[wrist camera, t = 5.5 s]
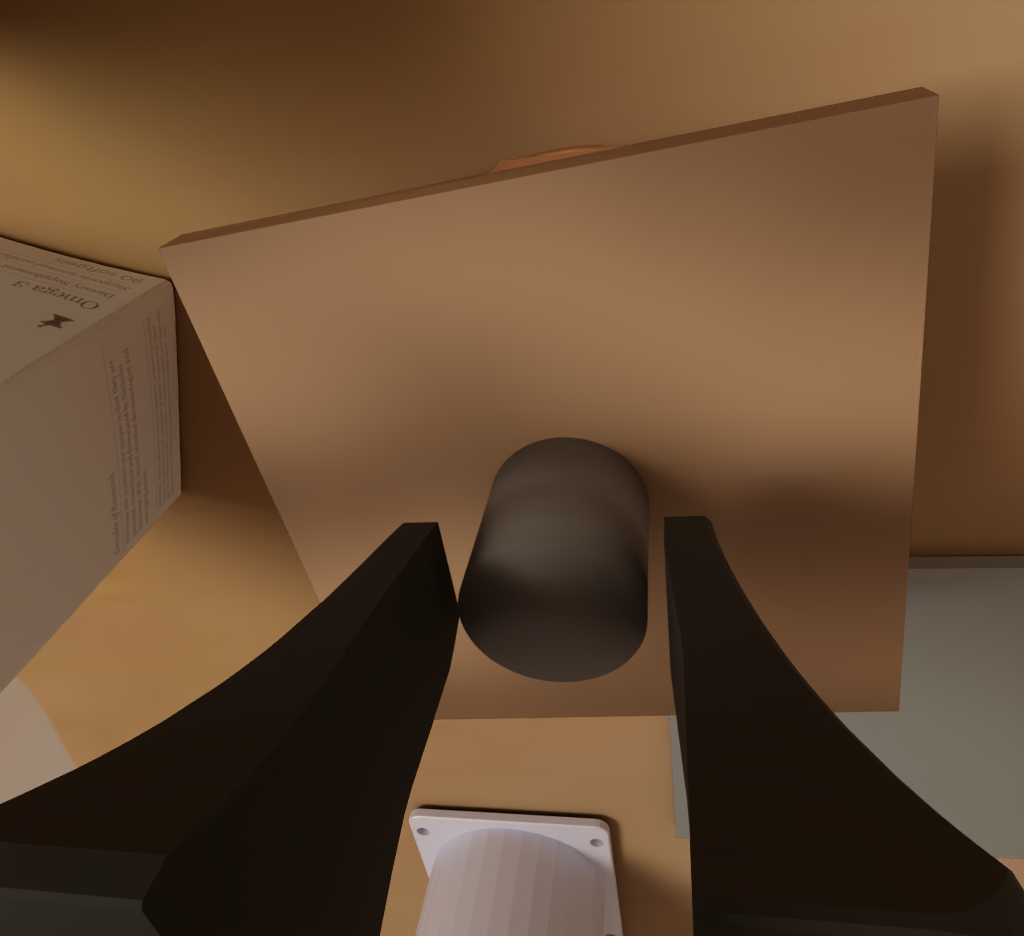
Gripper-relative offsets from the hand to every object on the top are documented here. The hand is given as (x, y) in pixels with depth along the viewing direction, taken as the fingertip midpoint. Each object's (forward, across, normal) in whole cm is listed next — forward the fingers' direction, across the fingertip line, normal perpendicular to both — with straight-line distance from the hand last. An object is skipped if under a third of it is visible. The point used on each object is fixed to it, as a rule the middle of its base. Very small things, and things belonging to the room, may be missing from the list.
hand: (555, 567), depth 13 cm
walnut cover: (+3, 0, 0) cm, 3 cm away
